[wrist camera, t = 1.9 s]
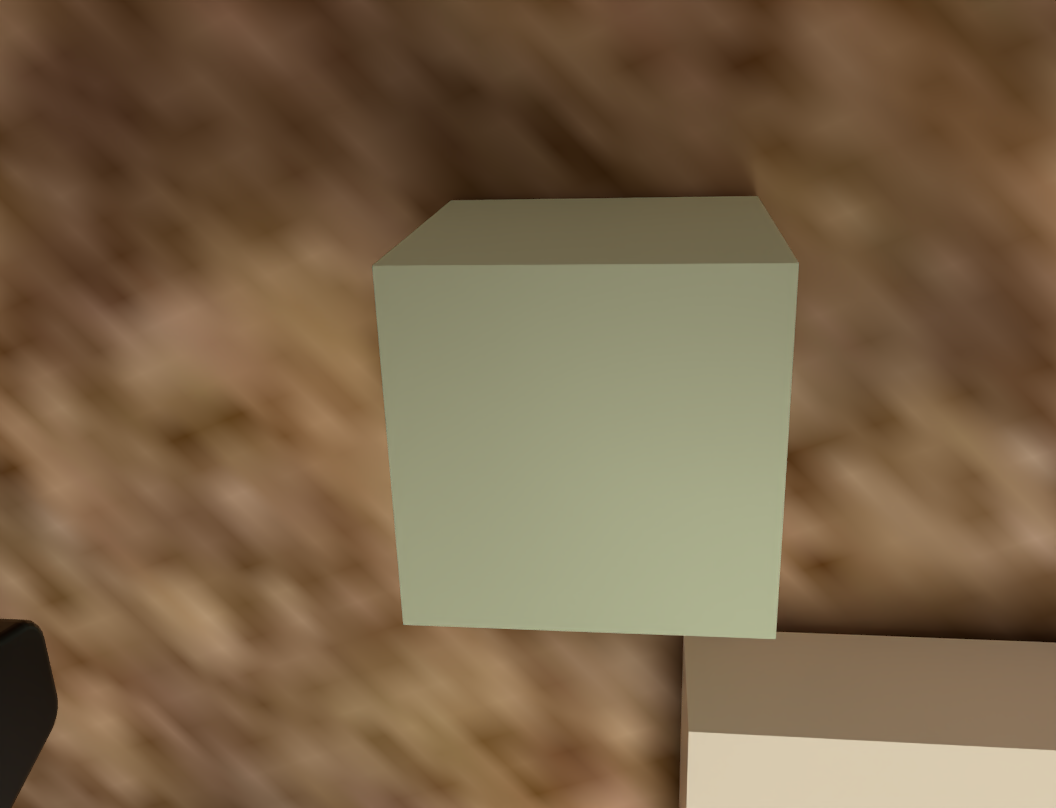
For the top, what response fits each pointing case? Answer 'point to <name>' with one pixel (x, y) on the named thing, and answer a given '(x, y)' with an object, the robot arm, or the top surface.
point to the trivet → (867, 722)
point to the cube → (590, 414)
